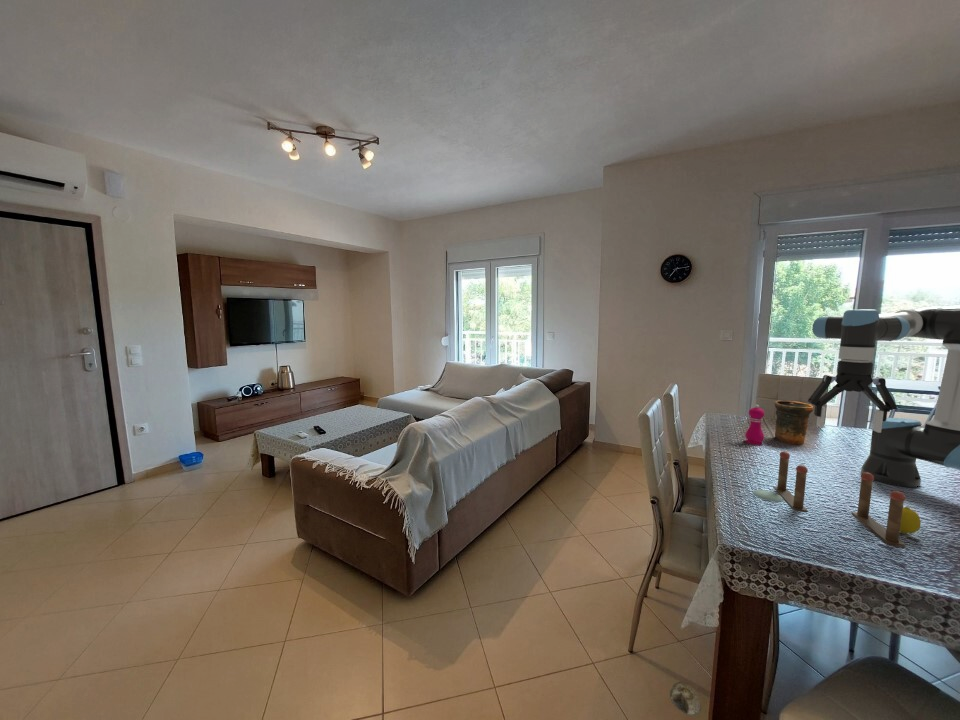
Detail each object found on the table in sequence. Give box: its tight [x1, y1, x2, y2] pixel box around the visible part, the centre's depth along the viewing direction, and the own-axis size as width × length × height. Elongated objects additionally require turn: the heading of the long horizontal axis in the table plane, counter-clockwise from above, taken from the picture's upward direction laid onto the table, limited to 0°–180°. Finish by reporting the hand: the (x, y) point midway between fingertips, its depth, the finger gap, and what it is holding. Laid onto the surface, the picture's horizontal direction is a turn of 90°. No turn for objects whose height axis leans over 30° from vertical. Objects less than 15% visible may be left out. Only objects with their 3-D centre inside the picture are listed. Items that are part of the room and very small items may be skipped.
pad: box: [753, 489, 784, 503], centre depth 127 cm, size 8×8×1 cm
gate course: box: [773, 451, 906, 548], centre depth 116 cm, size 20×29×15 cm
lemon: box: [900, 506, 921, 535], centre depth 105 cm, size 6×6×8 cm
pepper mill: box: [745, 404, 765, 446], centre depth 178 cm, size 7×7×20 cm
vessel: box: [774, 400, 814, 446], centre depth 180 cm, size 14×14×20 cm
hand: (847, 429), depth 115 cm, fingers open, 13 cm apart
